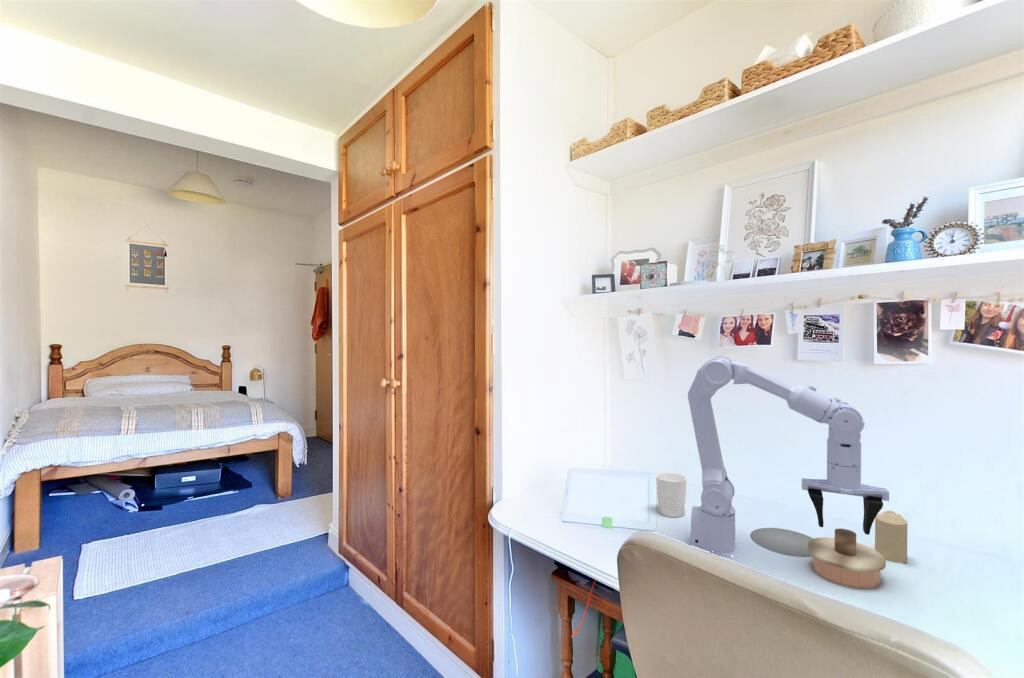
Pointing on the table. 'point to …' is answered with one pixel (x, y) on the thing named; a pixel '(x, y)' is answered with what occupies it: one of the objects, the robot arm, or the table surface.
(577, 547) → the table surface
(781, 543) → the mat
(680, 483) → the white cup
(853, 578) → the bowl
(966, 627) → the table surface
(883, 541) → the candle
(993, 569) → the table surface
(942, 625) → the table surface
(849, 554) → the lid
